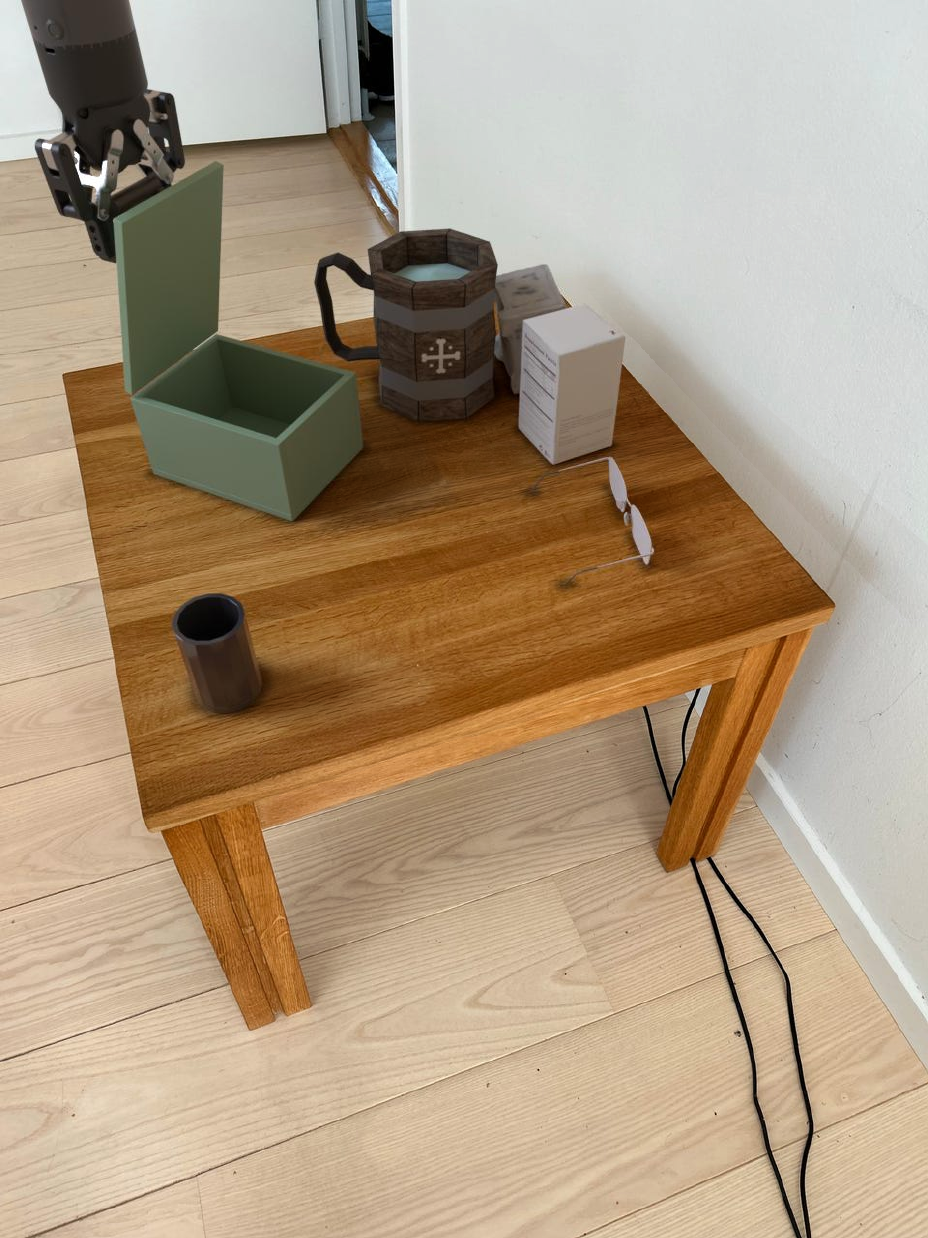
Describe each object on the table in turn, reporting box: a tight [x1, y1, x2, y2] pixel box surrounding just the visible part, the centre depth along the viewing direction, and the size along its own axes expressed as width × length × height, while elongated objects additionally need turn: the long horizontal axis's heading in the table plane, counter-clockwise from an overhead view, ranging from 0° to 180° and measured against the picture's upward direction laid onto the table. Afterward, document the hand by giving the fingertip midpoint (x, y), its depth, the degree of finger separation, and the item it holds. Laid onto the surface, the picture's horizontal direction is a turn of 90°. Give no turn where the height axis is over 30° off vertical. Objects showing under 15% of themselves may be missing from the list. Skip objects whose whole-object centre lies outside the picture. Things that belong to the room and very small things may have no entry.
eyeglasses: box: [529, 456, 655, 586], centre depth 85 cm, size 14×8×4 cm, turn 10°
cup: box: [171, 592, 263, 714], centre depth 70 cm, size 5×5×8 cm
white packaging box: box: [518, 303, 626, 466], centre depth 92 cm, size 7×7×13 cm
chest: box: [129, 333, 364, 522], centre depth 91 cm, size 17×13×9 cm
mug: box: [313, 227, 499, 423], centre depth 98 cm, size 20×14×15 cm
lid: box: [109, 160, 224, 396], centre depth 83 cm, size 18×13×5 cm
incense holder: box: [494, 264, 567, 395], centre depth 101 cm, size 10×8×10 cm
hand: (139, 242), depth 81 cm, fingers open, 7 cm apart
